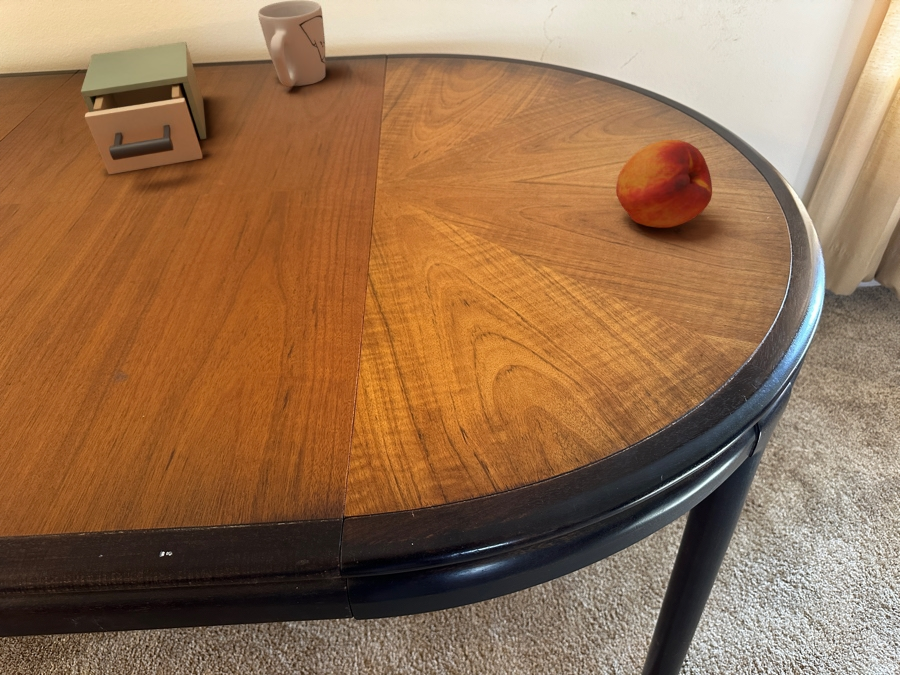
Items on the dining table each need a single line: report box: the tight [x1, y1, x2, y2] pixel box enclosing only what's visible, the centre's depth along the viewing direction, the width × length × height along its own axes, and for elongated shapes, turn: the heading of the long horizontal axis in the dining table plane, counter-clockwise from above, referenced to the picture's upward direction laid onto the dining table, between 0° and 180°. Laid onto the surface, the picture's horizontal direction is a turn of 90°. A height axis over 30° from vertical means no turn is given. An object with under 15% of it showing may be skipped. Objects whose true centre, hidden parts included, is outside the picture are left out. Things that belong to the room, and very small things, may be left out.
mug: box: [257, 0, 326, 88], centre depth 89 cm, size 11×8×10 cm
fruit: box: [615, 139, 713, 229], centre depth 59 cm, size 8×8×8 cm
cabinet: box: [80, 41, 207, 140], centre depth 80 cm, size 13×11×8 cm
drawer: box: [84, 83, 203, 175], centre depth 74 cm, size 18×10×7 cm, turn 18°
